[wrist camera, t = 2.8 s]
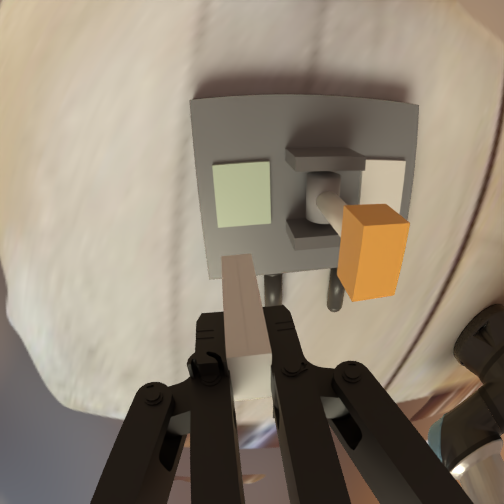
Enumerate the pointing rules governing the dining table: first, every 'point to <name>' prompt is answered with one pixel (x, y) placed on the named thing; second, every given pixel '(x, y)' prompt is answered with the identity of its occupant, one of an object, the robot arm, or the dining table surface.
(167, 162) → the dining table surface
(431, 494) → the robot arm
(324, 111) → the breaker box
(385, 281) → the breaker lever
